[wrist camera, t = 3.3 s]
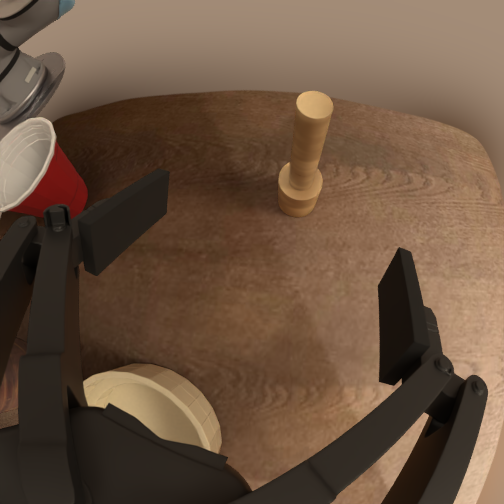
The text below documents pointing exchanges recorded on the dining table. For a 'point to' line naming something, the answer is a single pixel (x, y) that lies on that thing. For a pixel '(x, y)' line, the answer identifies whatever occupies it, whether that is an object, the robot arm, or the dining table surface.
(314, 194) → the muddler
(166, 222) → the dining table surface
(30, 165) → the plastic cup
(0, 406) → the mortar and pestle
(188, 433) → the bowl
